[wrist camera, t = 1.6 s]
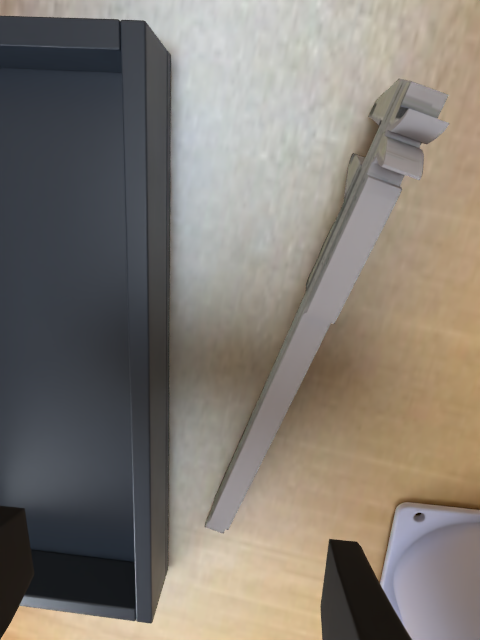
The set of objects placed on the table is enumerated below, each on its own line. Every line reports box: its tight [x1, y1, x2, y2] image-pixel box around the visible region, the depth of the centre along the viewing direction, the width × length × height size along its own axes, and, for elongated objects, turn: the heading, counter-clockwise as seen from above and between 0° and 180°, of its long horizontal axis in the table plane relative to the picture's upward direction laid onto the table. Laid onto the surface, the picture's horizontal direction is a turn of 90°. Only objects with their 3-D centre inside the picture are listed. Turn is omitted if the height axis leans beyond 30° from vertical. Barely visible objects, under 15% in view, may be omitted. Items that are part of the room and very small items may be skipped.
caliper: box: [205, 79, 449, 533], centre depth 15 cm, size 20×1×6 cm, turn 161°
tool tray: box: [0, 16, 171, 623], centre depth 17 cm, size 12×25×3 cm, turn 177°
